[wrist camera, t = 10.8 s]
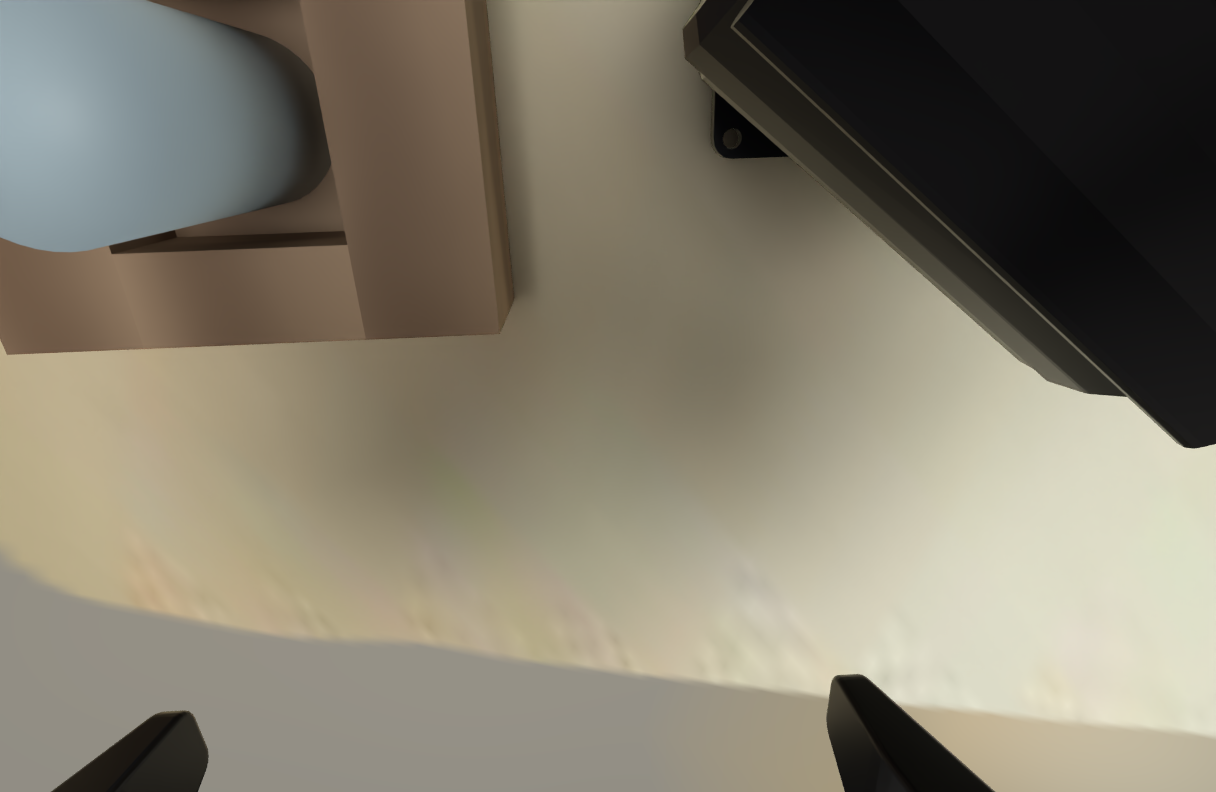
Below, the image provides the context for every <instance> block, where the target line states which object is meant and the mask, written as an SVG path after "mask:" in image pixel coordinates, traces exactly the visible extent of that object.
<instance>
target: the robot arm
mask: <svg viewBox="0 0 1216 792" xmlns="http://www.w3.org/2000/svg"><path fill="white" fill-rule="evenodd" d="M683 42H684V55H685V59H686V60H687V61H688V62H690V63H691V64H692V65H693V66H694V67H695V68H696V69H697V70H698V71H699V74H700V75H701V79H702V80H703V81H704V82H706V83H707V84H708V85H709V86H710V87H711V88H712V112H711V144H712V148H713V149H714V151H715V153H717V154H718V155H719V156H721V157H725V158H731V159H735V158H763V157H790V158H791V159H792V160H793V161H795V162H796V163H797V164H798V165H799V166H800V167H801V168H802V169H804V170H805V171H806V172H807V173H808V174H809V175H810V176H811V177H813V178H814V179H815V180H816V181H817V182H818V183H819V184H821V185H822V186H823V187H824V188H825V189H826V190H827V191H828V192H830V193H831V194H832V195H833V196H834V197H835V198H836V199H837V200H839V201H840V202H841V203H842V204H843V205H844V206H845V207H846V208H848V209H849V210H850V211H851V212H852V213H853V214H854V215H855V216H857V217H858V218H859V219H860V220H861V221H862V222H863V223H864V224H866V225H867V226H868V227H869V228H870V229H871V230H872V231H873V232H875V233H876V234H877V235H878V236H879V237H880V238H881V239H883V240H884V241H885V242H886V243H887V244H888V245H889V246H890V247H892V248H893V249H894V250H895V251H896V252H897V253H898V254H899V255H901V256H902V257H903V258H904V259H905V260H906V261H907V262H908V263H910V264H911V265H912V266H913V267H914V268H915V269H916V270H917V271H919V272H920V273H921V274H922V275H923V276H924V277H925V278H926V279H928V280H929V281H930V282H931V283H932V284H933V285H934V286H935V287H937V288H938V289H939V290H940V291H941V292H942V293H943V294H945V295H946V296H947V297H948V298H949V299H950V300H951V301H952V302H954V303H955V304H956V305H957V306H958V307H959V308H960V309H961V310H963V311H964V312H965V313H966V314H967V315H968V316H969V317H970V318H972V319H973V320H974V321H975V322H976V323H977V324H978V325H979V326H981V327H982V328H983V329H984V330H985V331H986V332H987V333H988V334H990V335H991V336H992V337H993V338H994V339H995V340H996V341H997V342H999V343H1000V344H1001V345H1002V346H1003V347H1004V348H1005V349H1007V350H1008V351H1009V352H1010V353H1011V354H1012V355H1013V356H1014V357H1016V358H1017V359H1018V360H1019V361H1020V362H1022V363H1024V364H1026V365H1028V366H1029V367H1031V368H1033V369H1034V370H1035V371H1037V372H1038V373H1039V374H1040V375H1041V376H1042V377H1043V378H1044V379H1046V380H1047V381H1049V382H1052V383H1055V384H1058V385H1062V386H1065V387H1068V388H1071V389H1074V390H1077V391H1080V392H1083V393H1087V394H1098V395H1110V396H1123V397H1128V398H1129V399H1130V400H1131V401H1132V402H1133V403H1135V404H1136V405H1137V406H1138V407H1139V408H1140V409H1141V410H1142V411H1143V412H1144V413H1145V414H1146V415H1147V416H1148V417H1150V418H1151V419H1152V420H1153V421H1154V422H1155V423H1156V424H1157V425H1158V426H1159V427H1160V428H1161V429H1162V430H1164V431H1165V432H1166V433H1167V434H1168V435H1169V436H1170V437H1171V438H1172V439H1173V440H1174V441H1175V442H1176V443H1178V444H1179V445H1181V446H1183V447H1186V448H1200V447H1205V446H1209V445H1213V444H1216V0H700V4H699V6H698V7H697V9H696V10H695V11H694V13H693V14H692V16H691V17H690V19H689V20H688V22H687V23H686V25H685V26H684V28H683ZM728 129H734V130H735V131H736V132H737V133H738V141H737V144H736V145H735V146H734V147H732V148H727V147H726V146H725V145H724V144H723V135H724V133H725V132H726V131H727V130H728ZM826 720H827V728H828V734H829V738H830V741H831V745H832V748H833V752H834V755H835V758H836V762H837V766H838V769H839V773H840V776H841V780H842V783H843V787H844V791H845V792H995V791H994V790H993V789H991V788H990V787H989V786H988V785H987V784H986V783H985V782H983V781H982V780H981V779H980V778H979V777H978V776H977V775H976V774H975V773H973V772H972V771H971V770H970V769H969V768H968V767H967V766H966V765H965V764H963V763H962V762H961V761H960V760H959V759H958V758H957V757H956V756H954V755H953V754H952V753H951V752H950V751H949V750H948V749H946V748H945V747H944V746H943V745H942V744H941V743H940V742H939V741H937V740H936V739H935V738H934V737H933V736H932V735H931V734H930V733H929V732H928V731H926V730H925V729H924V728H923V727H922V726H921V725H919V723H917V722H916V721H915V720H914V719H913V718H912V717H911V716H910V715H908V714H907V713H906V712H905V711H904V710H903V709H902V708H901V707H899V706H898V705H897V704H896V703H895V702H894V701H893V700H892V699H890V698H889V697H888V696H887V695H886V694H885V693H884V692H883V691H882V690H880V689H879V688H878V687H877V686H876V685H875V684H874V683H873V682H871V681H870V680H869V679H868V678H867V677H865V676H863V675H860V674H850V675H837V676H835V677H834V678H833V680H832V683H831V689H830V695H829V703H828V709H827V717H826ZM207 764H208V748H207V746H206V744H205V741H204V738H203V736H202V734H201V731H200V729H199V727H198V724H197V722H196V719H195V717H194V716H193V714H191V713H190V712H189V711H167V712H160V713H157V714H155V715H153V716H152V717H150V718H149V719H147V720H146V721H145V722H143V723H142V724H141V725H139V726H138V727H137V728H135V729H134V730H133V731H131V732H130V733H129V734H127V735H126V736H125V737H123V738H122V739H121V740H119V741H118V742H117V743H115V744H114V745H113V746H111V747H110V748H109V749H107V750H106V751H105V752H103V753H102V754H101V755H99V756H98V757H97V758H95V759H94V760H93V761H91V762H90V763H89V764H87V765H86V766H85V767H83V768H82V769H81V770H79V771H78V772H77V773H75V774H74V775H73V776H71V777H70V778H69V779H67V780H66V781H65V782H63V783H62V784H61V785H60V786H58V787H57V788H55V789H54V790H53V791H52V792H198V790H199V787H200V785H201V782H202V779H203V777H204V774H205V772H206V768H207Z"/></svg>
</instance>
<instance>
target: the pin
mask: <svg viewBox="0 0 1216 792" xmlns="http://www.w3.org/2000/svg"><path fill="white" fill-rule="evenodd" d="M330 165H331V158H330V153H329V148H328V143H327V138H326V133H325V128H324V123H323V118H322V112H321V107H320V102H319V97H318V92H317V87H316V82H315V77H314V73H313V72H312V71H311V70H310V69H309V67H308V66H307V65H306V64H305V63H304V62H303V61H302V60H301V59H300V58H299V57H298V56H297V55H295V54H294V53H293V52H292V51H290V50H289V49H288V48H286V47H285V46H283V45H281V44H280V43H278V42H276V41H274V40H272V39H270V38H268V37H265V36H262V35H259V34H256V33H253V32H250V31H246V30H243V29H240V28H236V27H233V26H230V25H226V24H223V23H220V22H216V21H213V20H210V19H206V18H203V17H200V16H197V15H193V14H190V13H187V12H183V11H180V10H177V9H173V8H170V7H167V6H163V5H160V4H157V3H153V2H150V1H147V0H0V237H1V238H3V239H6V240H9V241H11V242H14V243H16V244H19V245H23V246H27V247H30V248H34V249H39V250H46V251H52V252H79V251H88V250H92V249H96V248H101V247H105V246H109V245H113V244H117V243H122V242H126V241H130V240H134V239H138V238H143V237H147V236H151V235H155V234H159V233H164V232H168V231H172V230H176V229H180V228H185V227H189V226H193V225H197V224H201V223H206V222H210V221H214V220H218V219H222V218H227V217H231V216H235V215H239V214H243V213H248V212H252V211H256V210H260V209H264V208H269V207H273V206H277V205H281V204H285V203H289V202H293V201H295V200H298V199H300V198H302V197H304V196H305V195H307V194H309V193H310V192H311V191H312V190H314V189H315V188H316V187H317V186H318V185H319V184H320V182H321V181H322V180H323V179H324V177H325V175H326V174H327V172H328V170H329V168H330Z"/></svg>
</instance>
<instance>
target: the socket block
mask: <svg viewBox="0 0 1216 792" xmlns="http://www.w3.org/2000/svg"><path fill="white" fill-rule="evenodd" d="M147 1H150V2H153V3H157V4H160V5H163V6H167V7H170V8H173V9H177V10H180V11H183V12H187V13H190V14H193V15H197V16H200V17H203V18H206V19H210V20H213V21H216V22H220V23H223V24H226V25H230V26H233V27H236V28H240V29H243V30H246V31H250V32H253V33H256V34H259V35H262V36H265V37H268V38H270V39H272V40H274V41H276V42H278V43H280V44H281V45H283V46H285V47H286V48H288V49H289V50H290V51H292V52H293V53H294V54H295V55H297V56H298V57H299V58H300V59H301V60H302V61H303V62H304V63H305V64H306V65H307V66H308V67H309V69H310V70H311V71H312V72H313V73H314V77H315V82H316V87H317V92H318V97H319V102H320V107H321V112H322V118H323V123H324V128H325V133H326V138H327V143H328V148H329V153H330V158H331V165H330V168H329V170H328V172H327V174H326V175H325V177H324V179H323V180H322V181H321V182H320V184H319V185H318V186H317V187H316V188H315V189H314V190H312V191H311V192H310V193H309V194H307V195H305V196H304V197H302V198H300V199H298V200H295V201H293V202H289V203H285V204H281V205H277V206H273V207H269V208H264V209H260V210H256V211H252V212H248V213H243V214H239V215H235V216H231V217H227V218H222V219H218V220H214V221H210V222H206V223H201V224H197V225H193V226H189V227H185V228H180V229H176V230H172V231H168V232H164V233H159V234H155V235H151V236H147V237H143V238H138V239H134V240H130V241H126V242H122V243H117V244H113V245H109V246H105V247H101V248H96V249H92V250H88V251H79V252H52V251H46V250H39V249H34V248H30V247H27V246H23V245H19V244H16V243H14V242H11V241H9V240H6V239H3V238H1V237H0V339H1V342H2V344H3V346H4V349H5V351H6V353H7V355H11V354H34V353H58V352H82V351H106V350H129V349H153V348H177V347H201V346H224V345H248V344H272V343H296V342H320V341H343V340H367V339H391V338H415V337H438V336H462V335H486V334H500V332H501V330H502V327H503V325H504V322H505V320H506V318H507V315H508V313H509V310H510V308H511V306H512V303H513V301H514V291H513V280H512V270H511V259H510V249H509V238H508V227H507V217H506V206H505V195H504V185H503V174H502V164H501V153H500V142H499V132H498V121H497V110H496V100H495V89H494V78H493V68H492V57H491V47H490V36H489V25H488V15H487V4H486V0H147Z"/></svg>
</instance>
